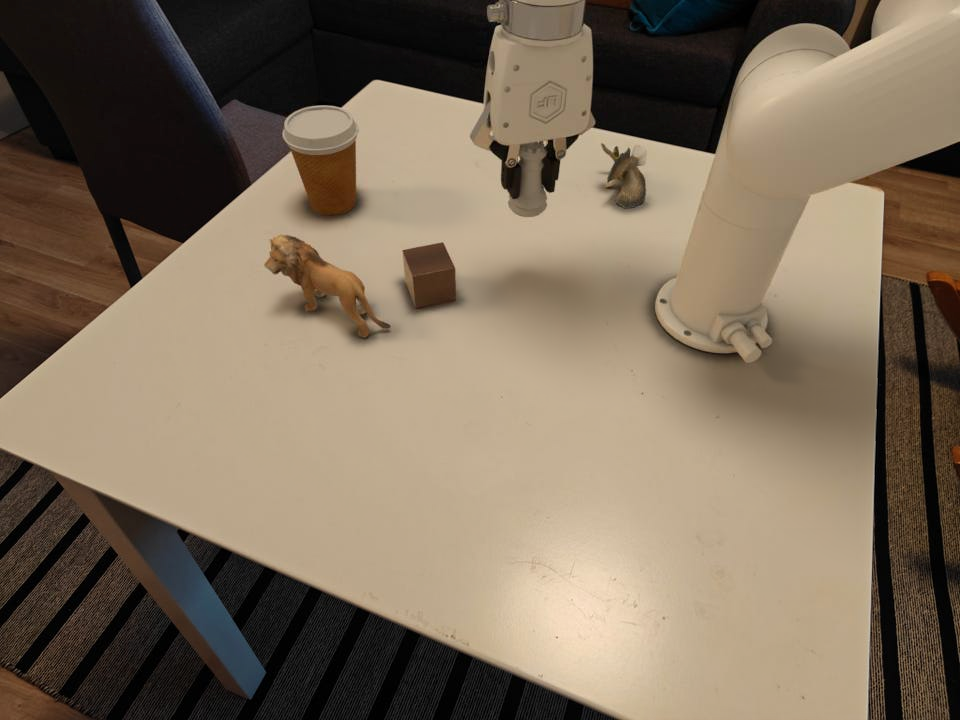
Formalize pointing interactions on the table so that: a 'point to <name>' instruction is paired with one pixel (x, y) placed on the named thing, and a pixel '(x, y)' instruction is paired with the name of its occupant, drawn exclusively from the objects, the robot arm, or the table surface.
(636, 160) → the horned animal figurine
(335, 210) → the disposable coffee cup
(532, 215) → the rook chess piece
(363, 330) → the lion figurine
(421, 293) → the walnut block
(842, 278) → the table surface
